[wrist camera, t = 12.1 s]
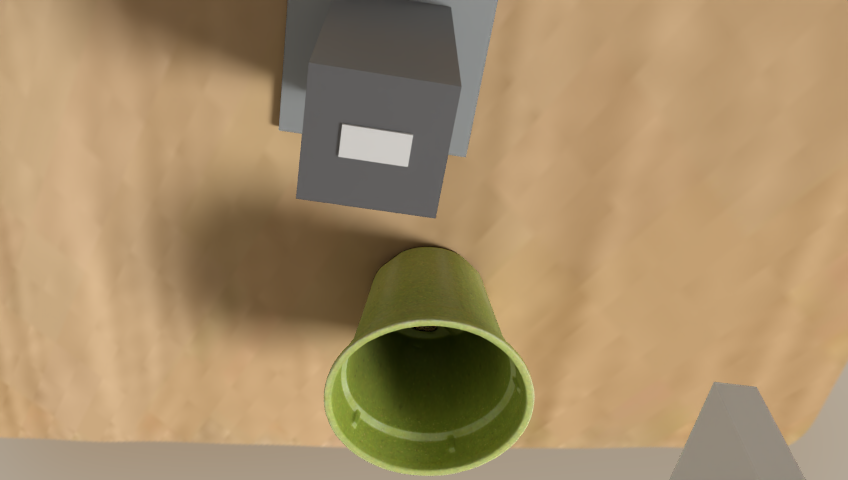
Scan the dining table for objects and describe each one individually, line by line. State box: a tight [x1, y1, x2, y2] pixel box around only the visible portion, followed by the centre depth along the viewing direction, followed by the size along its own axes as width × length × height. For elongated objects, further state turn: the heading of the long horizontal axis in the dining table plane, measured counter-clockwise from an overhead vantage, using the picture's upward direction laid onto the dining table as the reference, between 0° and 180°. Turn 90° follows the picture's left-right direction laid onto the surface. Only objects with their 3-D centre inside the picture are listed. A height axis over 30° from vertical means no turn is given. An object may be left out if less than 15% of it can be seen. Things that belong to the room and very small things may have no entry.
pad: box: [279, 0, 498, 157], centre depth 35 cm, size 9×9×1 cm
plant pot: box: [324, 247, 534, 476], centre depth 39 cm, size 9×9×9 cm
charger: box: [296, 0, 462, 218], centre depth 31 cm, size 5×5×10 cm
